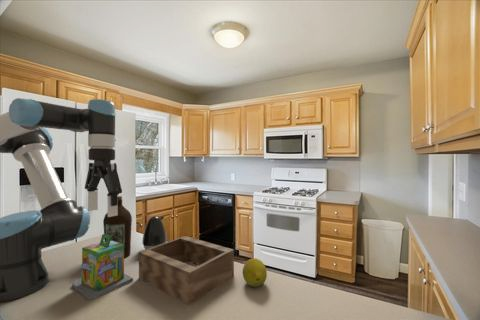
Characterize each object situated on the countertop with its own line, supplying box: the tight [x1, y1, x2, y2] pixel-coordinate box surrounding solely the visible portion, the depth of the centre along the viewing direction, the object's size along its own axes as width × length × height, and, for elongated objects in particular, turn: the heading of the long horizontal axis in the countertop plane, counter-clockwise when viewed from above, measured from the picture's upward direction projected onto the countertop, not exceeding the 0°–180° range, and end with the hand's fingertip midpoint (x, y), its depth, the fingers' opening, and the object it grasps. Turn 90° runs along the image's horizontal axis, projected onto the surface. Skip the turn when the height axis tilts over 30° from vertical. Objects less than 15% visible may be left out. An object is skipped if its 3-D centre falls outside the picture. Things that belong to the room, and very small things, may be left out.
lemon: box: [242, 258, 268, 288], centre depth 76 cm, size 11×8×8 cm
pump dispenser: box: [142, 215, 168, 250], centre depth 105 cm, size 10×10×15 cm
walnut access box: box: [138, 235, 235, 306], centre depth 81 cm, size 25×20×9 cm
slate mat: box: [71, 273, 134, 301], centre depth 77 cm, size 13×13×1 cm
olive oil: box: [103, 195, 133, 259], centre depth 98 cm, size 11×11×25 cm
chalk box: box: [81, 233, 125, 291], centre depth 76 cm, size 9×9×15 cm
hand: (102, 213), depth 76 cm, fingers open, 13 cm apart
